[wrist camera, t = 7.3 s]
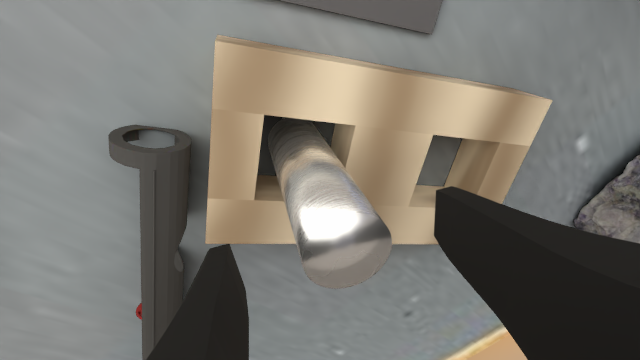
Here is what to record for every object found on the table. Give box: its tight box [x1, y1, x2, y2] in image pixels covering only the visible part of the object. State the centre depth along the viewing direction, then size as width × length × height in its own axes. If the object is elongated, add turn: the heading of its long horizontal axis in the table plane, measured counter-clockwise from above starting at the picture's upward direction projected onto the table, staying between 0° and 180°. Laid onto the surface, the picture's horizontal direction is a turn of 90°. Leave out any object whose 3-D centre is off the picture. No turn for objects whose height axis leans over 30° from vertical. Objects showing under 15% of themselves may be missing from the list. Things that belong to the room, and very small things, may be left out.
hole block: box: [205, 35, 553, 244], centre depth 19 cm, size 18×10×3 cm, turn 79°
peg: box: [268, 117, 392, 289], centre depth 15 cm, size 3×3×10 cm
